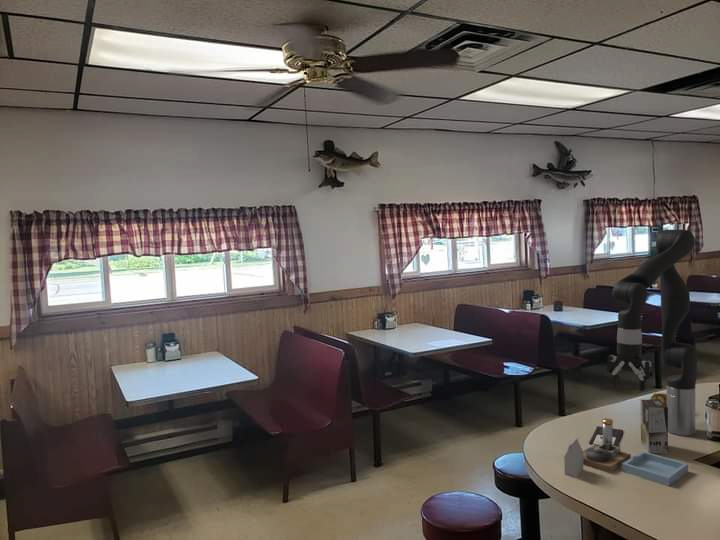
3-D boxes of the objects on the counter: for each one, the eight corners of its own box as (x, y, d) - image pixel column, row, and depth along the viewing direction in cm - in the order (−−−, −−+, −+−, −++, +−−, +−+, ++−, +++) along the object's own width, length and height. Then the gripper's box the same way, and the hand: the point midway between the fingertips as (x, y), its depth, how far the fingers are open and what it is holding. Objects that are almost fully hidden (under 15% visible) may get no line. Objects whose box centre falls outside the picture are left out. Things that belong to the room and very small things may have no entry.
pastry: (643, 412, 227) (643, 393, 227) (654, 404, 236) (654, 386, 235) (681, 419, 217) (681, 399, 216) (691, 411, 225) (691, 392, 225)
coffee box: (668, 454, 186) (668, 407, 185) (648, 453, 187) (648, 407, 186) (659, 443, 195) (659, 398, 194) (640, 442, 196) (640, 398, 195)
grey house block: (583, 469, 177) (583, 439, 177) (576, 477, 172) (576, 446, 171) (571, 466, 180) (571, 437, 179) (564, 474, 174) (564, 444, 174)
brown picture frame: (623, 429, 208) (616, 447, 192) (623, 432, 208) (616, 449, 192) (597, 426, 212) (589, 442, 197) (597, 428, 212) (589, 445, 197)
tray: (642, 458, 184) (642, 451, 183) (688, 471, 173) (688, 464, 172) (622, 471, 175) (621, 463, 175) (668, 486, 164) (668, 478, 164)
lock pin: (605, 449, 187) (605, 417, 186) (614, 452, 185) (614, 420, 184) (600, 452, 185) (600, 420, 184) (610, 454, 183) (609, 422, 182)
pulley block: (596, 449, 192) (595, 435, 192) (630, 460, 183) (630, 445, 182) (574, 461, 183) (574, 447, 183) (609, 473, 174) (609, 457, 174)
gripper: (656, 342, 183) (655, 390, 184) (613, 336, 194) (613, 382, 195) (646, 345, 178) (645, 395, 179) (603, 340, 189) (603, 386, 190)
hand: (629, 388), depth 187 cm, fingers open, 8 cm apart
